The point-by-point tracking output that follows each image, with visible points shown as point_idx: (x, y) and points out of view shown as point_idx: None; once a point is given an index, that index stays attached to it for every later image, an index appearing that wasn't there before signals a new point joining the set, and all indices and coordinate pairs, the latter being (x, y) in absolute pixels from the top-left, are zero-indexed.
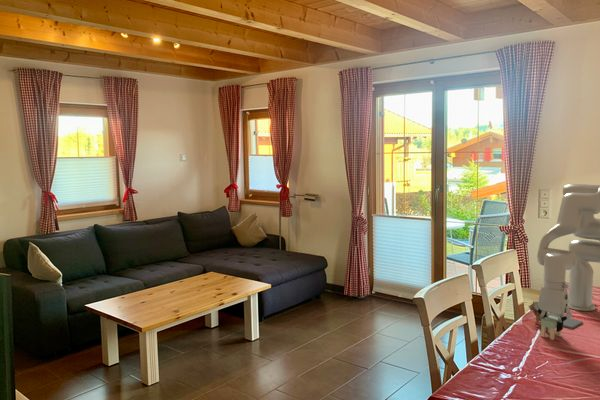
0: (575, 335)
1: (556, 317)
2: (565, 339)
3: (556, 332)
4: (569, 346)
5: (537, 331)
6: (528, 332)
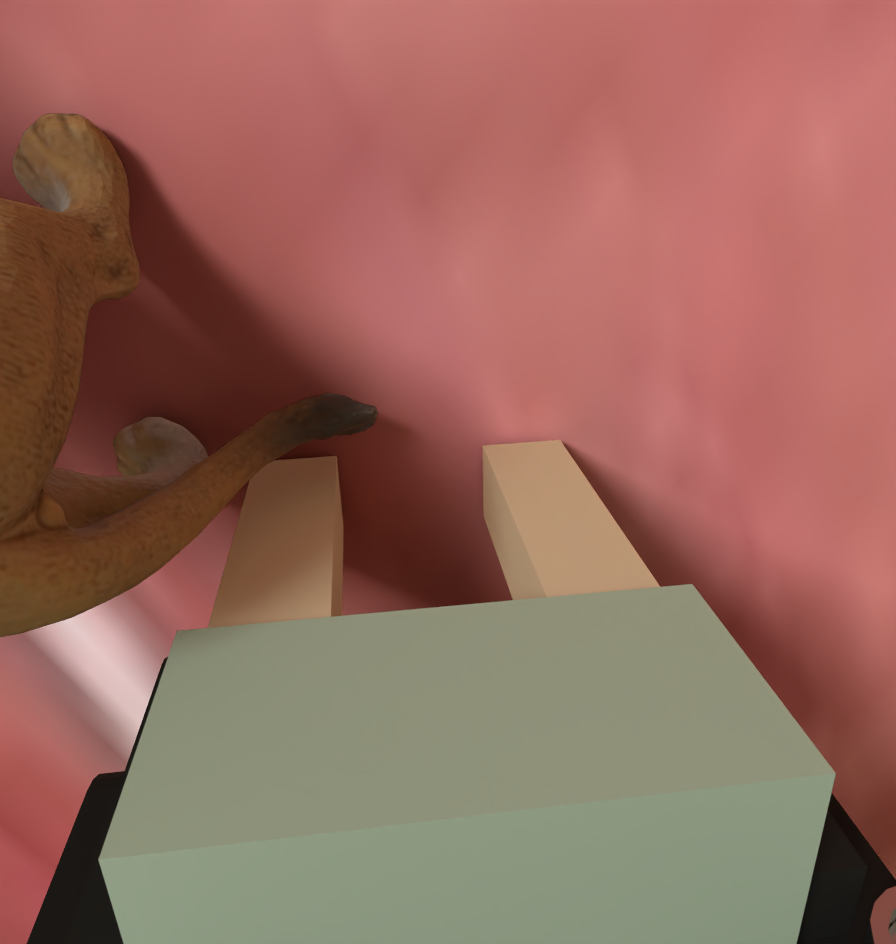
0: (818, 79)
1: (544, 852)
2: (714, 540)
3: (498, 552)
4: (870, 757)
5: (62, 632)
6: (8, 819)
